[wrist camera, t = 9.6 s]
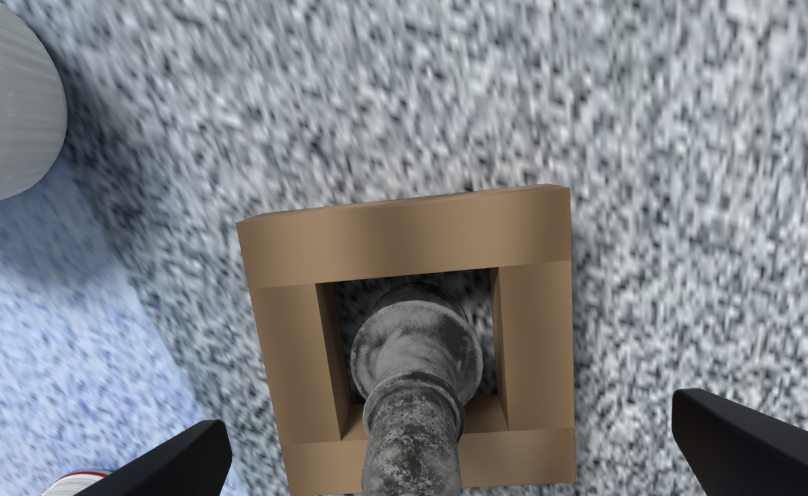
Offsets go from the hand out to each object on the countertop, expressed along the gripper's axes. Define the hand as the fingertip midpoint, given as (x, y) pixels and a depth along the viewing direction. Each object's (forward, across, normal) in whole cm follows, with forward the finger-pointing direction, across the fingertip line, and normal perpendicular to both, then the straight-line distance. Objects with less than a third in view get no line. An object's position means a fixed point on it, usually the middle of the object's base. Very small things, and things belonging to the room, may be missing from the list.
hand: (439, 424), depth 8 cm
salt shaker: (+13, +1, +4) cm, 13 cm away
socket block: (+12, +1, +4) cm, 13 cm away
